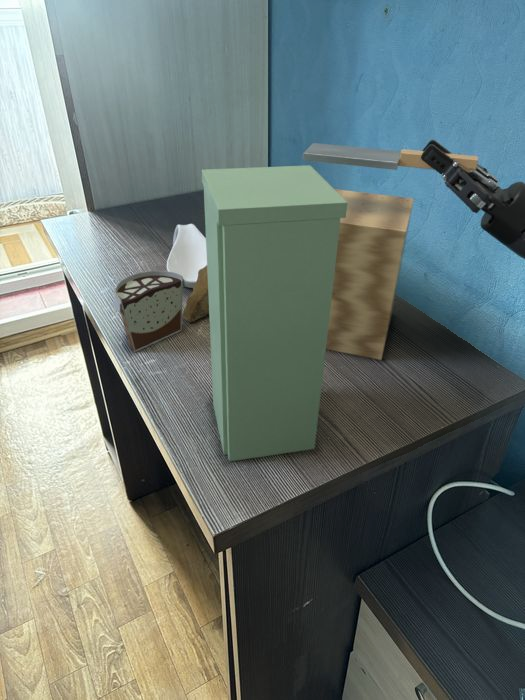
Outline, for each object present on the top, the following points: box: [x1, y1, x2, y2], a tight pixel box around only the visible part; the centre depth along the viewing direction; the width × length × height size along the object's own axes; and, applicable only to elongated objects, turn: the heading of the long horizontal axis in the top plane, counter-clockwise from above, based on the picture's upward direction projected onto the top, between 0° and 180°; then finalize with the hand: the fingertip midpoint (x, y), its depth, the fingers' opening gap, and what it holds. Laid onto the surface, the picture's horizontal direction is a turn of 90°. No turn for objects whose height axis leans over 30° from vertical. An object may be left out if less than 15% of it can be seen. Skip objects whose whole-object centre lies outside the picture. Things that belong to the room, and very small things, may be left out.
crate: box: [326, 188, 415, 361], centre depth 83 cm, size 16×14×22 cm
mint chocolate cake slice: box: [113, 270, 186, 353], centre depth 84 cm, size 12×6×10 cm, turn 134°
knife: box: [302, 142, 479, 171], centre depth 72 cm, size 23×6×2 cm, turn 72°
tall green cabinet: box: [201, 164, 347, 462], centre depth 60 cm, size 12×12×32 cm
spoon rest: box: [166, 223, 207, 289], centre depth 104 cm, size 24×12×7 cm, turn 17°
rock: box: [182, 265, 209, 323], centre depth 92 cm, size 11×9×10 cm
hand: (426, 148), depth 70 cm, fingers closed on knife, 2 cm apart
